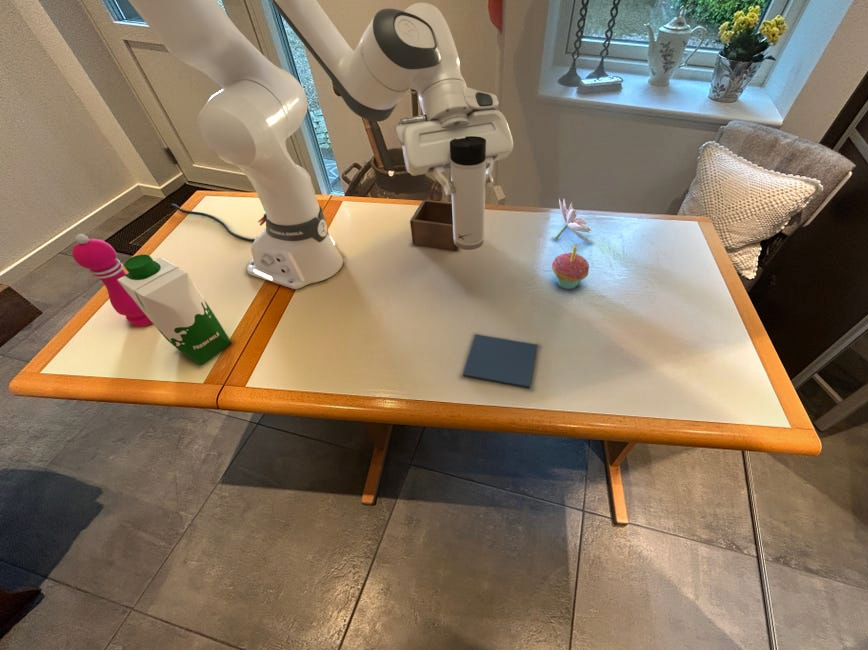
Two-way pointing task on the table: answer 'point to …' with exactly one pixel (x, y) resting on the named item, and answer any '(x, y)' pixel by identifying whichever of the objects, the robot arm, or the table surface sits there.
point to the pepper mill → (108, 276)
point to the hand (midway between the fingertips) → (470, 189)
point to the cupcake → (570, 269)
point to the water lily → (573, 221)
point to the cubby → (433, 225)
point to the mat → (501, 361)
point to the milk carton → (174, 307)
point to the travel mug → (468, 191)
